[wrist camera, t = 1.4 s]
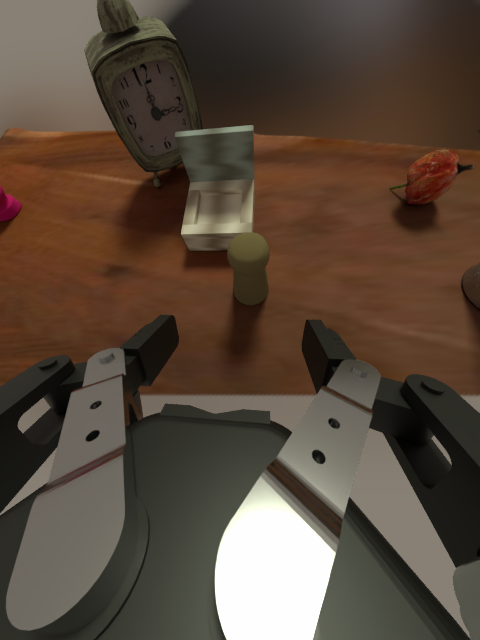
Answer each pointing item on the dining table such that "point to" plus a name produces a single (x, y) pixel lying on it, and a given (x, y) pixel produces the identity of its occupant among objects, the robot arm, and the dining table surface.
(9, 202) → the pepper mill
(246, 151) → the stand
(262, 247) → the cork
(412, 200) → the pomegranate
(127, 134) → the tabletop clock
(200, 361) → the dining table surface
